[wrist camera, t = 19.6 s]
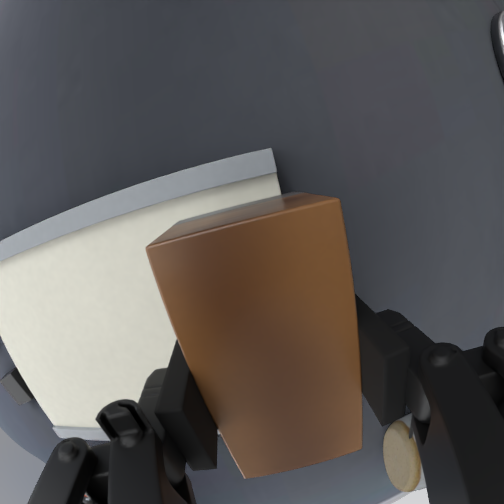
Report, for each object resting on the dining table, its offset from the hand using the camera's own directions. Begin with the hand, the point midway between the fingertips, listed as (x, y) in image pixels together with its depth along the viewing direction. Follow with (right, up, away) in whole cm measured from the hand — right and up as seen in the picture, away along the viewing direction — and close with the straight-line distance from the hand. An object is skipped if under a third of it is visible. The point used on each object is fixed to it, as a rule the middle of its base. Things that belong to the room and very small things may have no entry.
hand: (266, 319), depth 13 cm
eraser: (0, 0, 0) cm, 0 cm away
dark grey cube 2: (-20, -8, +4) cm, 23 cm away
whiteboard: (-9, -2, +4) cm, 10 cm away
